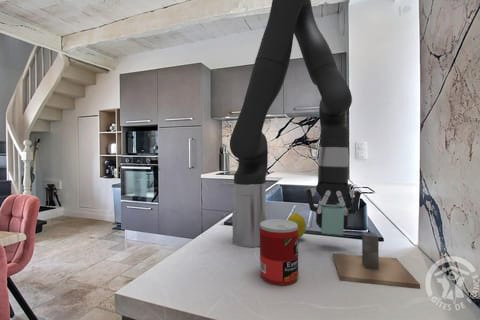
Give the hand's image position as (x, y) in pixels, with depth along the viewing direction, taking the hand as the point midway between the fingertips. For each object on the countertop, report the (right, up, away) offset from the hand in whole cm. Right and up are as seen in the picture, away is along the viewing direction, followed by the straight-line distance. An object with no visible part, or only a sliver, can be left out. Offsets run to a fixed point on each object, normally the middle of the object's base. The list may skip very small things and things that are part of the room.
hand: (331, 227), depth 66 cm
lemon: (-8, -6, +8) cm, 12 cm away
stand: (+4, -6, -13) cm, 14 cm away
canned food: (-16, -6, -15) cm, 23 cm away
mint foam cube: (0, -1, 0) cm, 1 cm away
